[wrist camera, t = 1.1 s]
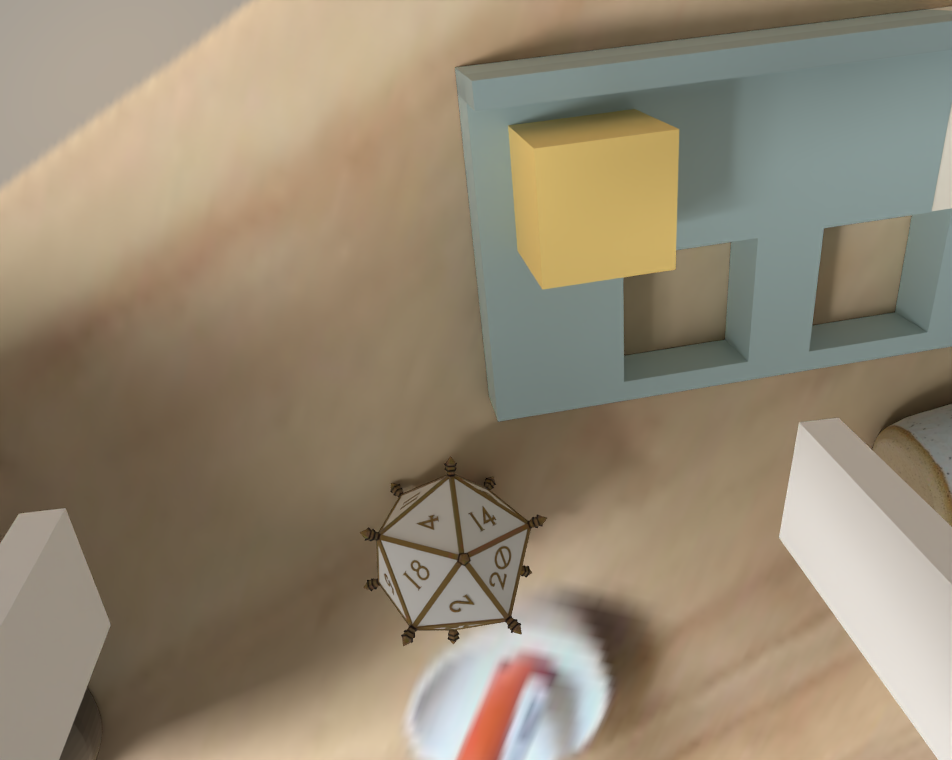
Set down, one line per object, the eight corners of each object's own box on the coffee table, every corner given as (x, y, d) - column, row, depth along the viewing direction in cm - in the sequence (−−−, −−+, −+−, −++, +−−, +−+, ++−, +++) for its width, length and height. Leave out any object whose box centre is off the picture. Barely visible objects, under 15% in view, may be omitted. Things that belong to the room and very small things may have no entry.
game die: (420, 437, 43) (435, 413, 33) (550, 520, 43) (604, 520, 33) (328, 581, 41) (316, 601, 31) (465, 666, 41) (495, 713, 31)
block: (517, 250, 32) (542, 289, 28) (508, 125, 29) (533, 148, 26) (634, 233, 32) (675, 269, 28) (634, 108, 30) (679, 129, 26)
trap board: (488, 395, 38) (506, 444, 34) (454, 67, 31) (471, 80, 27) (982, 315, 40) (1052, 352, 36) (1057, -7, 33) (1155, -5, 29)
